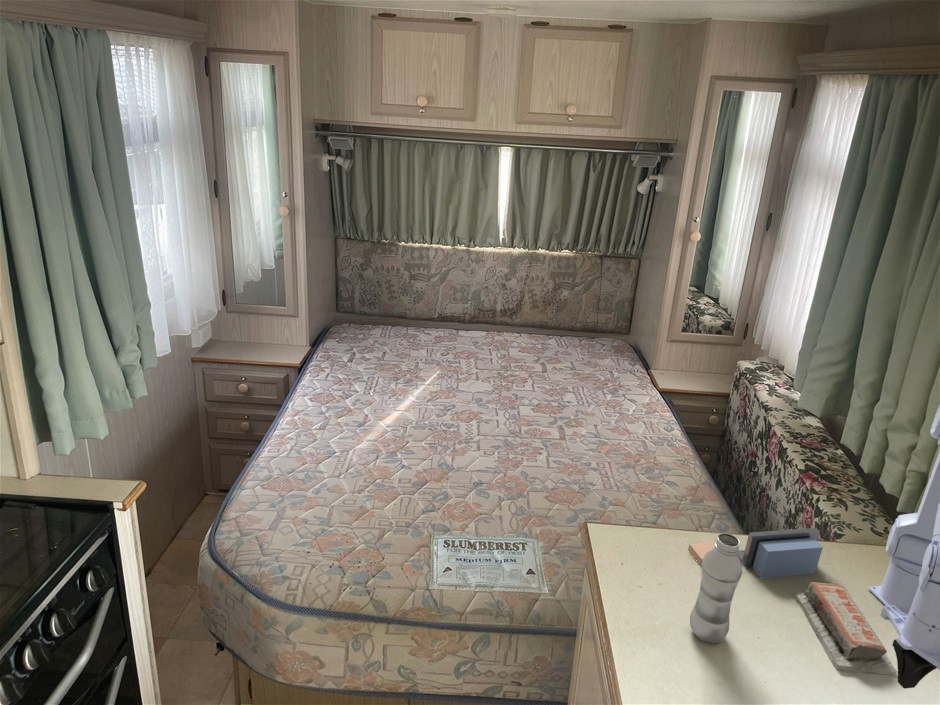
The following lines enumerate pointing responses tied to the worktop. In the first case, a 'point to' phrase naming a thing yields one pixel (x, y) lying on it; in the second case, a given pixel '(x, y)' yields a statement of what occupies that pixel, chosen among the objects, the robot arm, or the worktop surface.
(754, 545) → the bookend
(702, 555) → the lying book
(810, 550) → the grayish blue rectangular block
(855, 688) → the worktop surface
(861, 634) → the packaged product
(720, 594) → the plastic bottle
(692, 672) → the worktop surface
